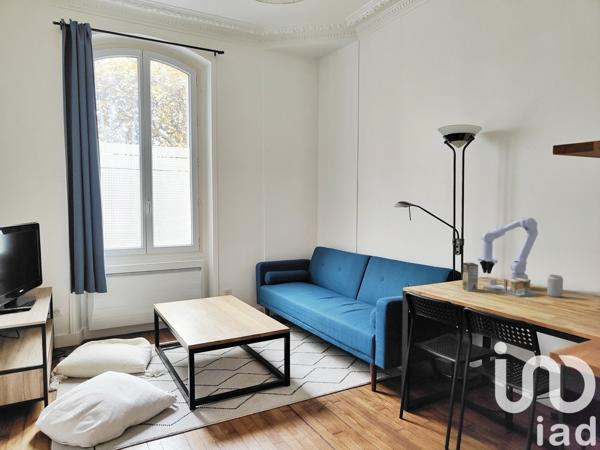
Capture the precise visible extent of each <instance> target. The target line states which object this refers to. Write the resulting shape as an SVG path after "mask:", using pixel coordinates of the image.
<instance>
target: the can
mask: <svg viewBox="0 0 600 450" xmlns="http://www.w3.org/2000/svg"><path fill="white" fill-rule="evenodd" d="M562 276H563V275H561V274H560V275H559V274H548V276H547V283H546V284H547V288H546V292H547V293H546V294H547V296H548V297H552V298H561V297H563V295H564V294H563V291H564V287H563V285H564V278H563V277H562Z"/></svg>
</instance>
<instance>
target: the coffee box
mask: <svg viewBox="0 0 600 450" xmlns="http://www.w3.org/2000/svg"><path fill="white" fill-rule="evenodd" d="M478 283H479V264H477V263H474V262H462V287H461V288H462V289H463V290H465V291H467V292H478V287H479V285H478Z"/></svg>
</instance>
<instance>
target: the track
mask: <svg viewBox="0 0 600 450" xmlns="http://www.w3.org/2000/svg"><path fill="white" fill-rule="evenodd" d="M497 285H502V286H504V284H499V283H497ZM510 286H511V285H507V287H510ZM482 289H484V290H487V291H488V290H489V291H492V292H496V293H501V294H505V295H509V296H513V297H517V298H524V297H533V296H539V293H538V292H534V291H532V290H530V291H528V290H525V292H521V291H517V290H516V293H512V291H513V290H512V289H508V288H507V291H504V288H503V287H499V286H494V285H490V284H489V283H487V284H486V285H485V286H484V285H483V286H482Z"/></svg>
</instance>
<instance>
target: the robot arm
mask: <svg viewBox="0 0 600 450" xmlns="http://www.w3.org/2000/svg"><path fill="white" fill-rule="evenodd" d="M518 228H523V229H524V230H525V231H526V237H525V238H524V241H523V244H522V245H521V248H520V250H519V251H518V252H519V253H518V255H517V257H516V258H515V259H514V260H513V262H511V264H510V266H509V267H510V269H511V271H510V272H511V273H510V275H511V278H510V279H513V278H523V279H528V280H529V276H528V274H527V273H525V272H526V271H527V264H528V263H527V260H528V257H529V255H530V253H531V250H532V248H533V246H534V244H535V241H536V239H537V238H538V234H539V233H538V222H537V221H536V219H534V218H533V217H522V218H519V219H517V220H515V221H513V222H511V223H509V224H507V225H505V226H503V227H502V226H496V227H495V228H494V229H492V230H488V232H484V233H483V234H482V236H481V240H482V255H481V256H482V257H479V256H478V257H477V261H478V262H479V264H480V266H481V269H482V273H483V274H486V273H487V274H490V275H491V273H492V271H493V268H494V266H495V265H496V264H498V259H495V258H493V246H494V245H493V241H495V240H496V239H499V238H500V237H502V236H505V235H506V233H507V232H509V231H512V230H514V229H518ZM509 286H510V287H511V285H509Z"/></svg>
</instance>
